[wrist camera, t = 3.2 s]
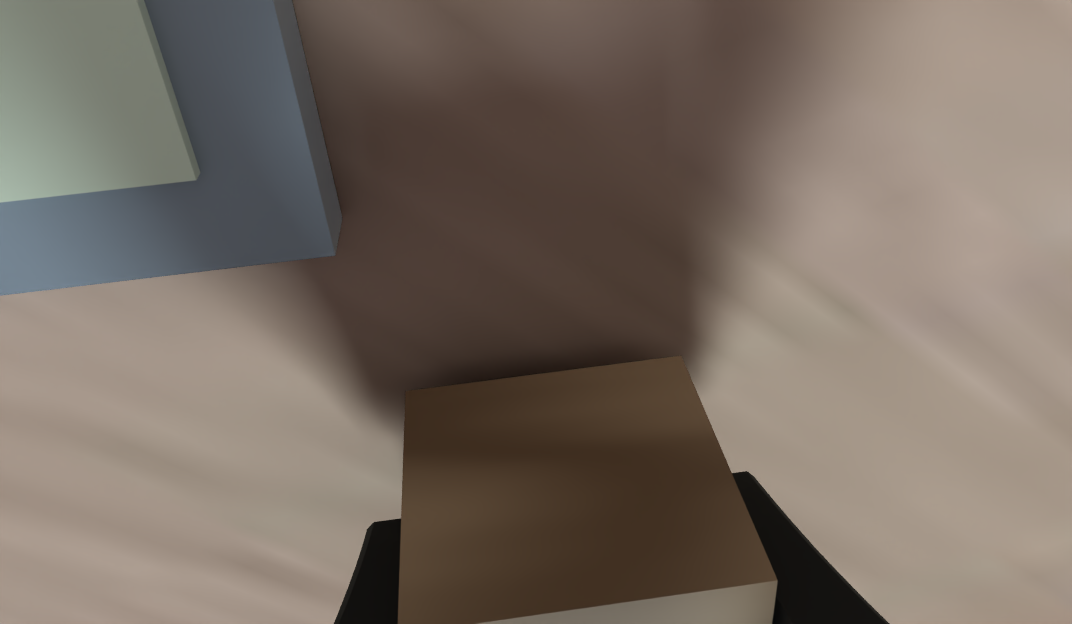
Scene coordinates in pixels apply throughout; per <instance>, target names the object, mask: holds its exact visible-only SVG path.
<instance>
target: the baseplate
mask: <svg viewBox="0 0 1072 624" xmlns="http://www.w3.org/2000/svg"><path fill="white" fill-rule="evenodd" d="M341 223H342V214H341V210H340V205H339V201H338V197H337V192H336V188H335V184H334V180H333V175H332V171H331V167H330V162H329V158H328V154H327V149H326V145H325V141H324V136H323V132H322V128H321V123H320V119H319V115H318V110H317V106H316V102H315V97H314V93H313V89H312V84H311V80H310V76H309V71H308V67H307V63H306V59H305V54H304V50H303V46H302V41H301V37H300V33H299V28H298V24H297V20H296V15H295V11H294V7H293V2H292V0H0V295H9V294H17V293H25V292H34V291H42V290H51V289H59V288H67V287H76V286H84V285H93V284H101V283H110V282H118V281H126V280H135V279H143V278H152V277H160V276H168V275H177V274H185V273H194V272H202V271H210V270H219V269H227V268H236V267H244V266H252V265H261V264H269V263H278V262H286V261H294V260H303V259H311V258H320V257H328V256H335V255H336V249H337V244H338V239H339V234H340V228H341Z"/></svg>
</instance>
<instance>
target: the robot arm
mask: <svg viewBox="0 0 1072 624" xmlns="http://www.w3.org/2000/svg"><path fill="white" fill-rule="evenodd" d="M732 475H733V478H734V480H735V482H736V485H737V487H738V489H739V491H740V494H741V496H742V498H743V501H744V503H745V505H746V508H747V510H748V512H749V515H750V517H751V519H752V522H753V524H754V526H755V529H756V531H757V533H758V536H759V538H760V540H761V543H762V545H763V547H764V550H765V552H766V554H767V557H768V559H769V561H770V564H771V566H772V568H773V571H774V573H775V575H776V578H777V580H778V582H777V590H776V598H775V605H774V613H773V620H772V624H889V623H888V622H887V621H886V620H885V619H884V618H883V617H882V616H881V615H880V614H879V613H878V612H877V611H876V610H875V609H874V608H873V607H872V606H871V605H870V604H869V603H868V602H867V601H866V600H865V599H864V598H863V597H862V596H861V595H860V594H859V593H858V592H857V591H856V590H855V589H854V588H853V587H852V586H851V585H850V584H849V583H848V582H847V581H846V580H845V579H844V578H843V577H842V576H841V575H840V574H839V573H838V572H837V571H836V570H835V568H834V567H833V566H832V565H831V564H830V563H829V562H828V561H827V560H826V559H825V558H824V557H823V556H822V555H821V554H820V553H819V551H818V550H817V549H816V548H815V547H814V546H813V545H812V544H811V543H810V542H809V540H808V539H807V538H806V537H805V536H804V535H803V534H802V533H801V531H800V530H799V529H798V528H797V527H796V526H795V525H794V524H793V522H792V521H791V520H790V519H789V518H788V517H787V516H786V514H785V513H784V512H783V511H782V510H781V509H780V507H779V506H778V505H777V504H776V503H775V501H774V500H773V499H772V498H771V497H770V495H769V494H768V493H767V492H766V491H765V489H764V488H763V487H762V486H761V485H760V483H759V482H758V481H757V480H756V478H755V477H754V476H753V475H751V474H750V473H749V472H747V471H746V472H738V473H732ZM400 541H401V519H394V520H387V521H379V522H374V523H373V524H372V525H371V526H370V527H369V528H368V529H367V532H366V535H365V539H364V543H363V546H362V549H361V552H360V555H359V558H358V561H357V564H356V567H355V570H354V573H353V576H352V579H351V581H350V584H349V587H348V589H347V592H346V594H345V597H344V600H343V602H342V605H341V607H340V610H339V612H338V615H337V617H336V620H335V622H334V624H398V601H399V571H400Z"/></svg>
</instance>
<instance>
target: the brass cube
mask: <svg viewBox="0 0 1072 624" xmlns="http://www.w3.org/2000/svg"><path fill="white" fill-rule="evenodd" d="M777 582H778V580H777V578H776V575H775V573H774V571H773V568H772V566H771V564H770V561H769V559H768V557H767V554H766V552H765V550H764V547H763V545H762V543H761V540H760V538H759V536H758V533H757V531H756V529H755V526H754V524H753V522H752V519H751V517H750V515H749V512H748V510H747V508H746V505H745V503H744V501H743V498H742V496H741V494H740V491H739V489H738V487H737V485H736V482H735V480H734V478H733V475H732V473H731V471H730V468H729V466H728V464H727V461H726V459H725V457H724V454H723V452H722V450H721V447H720V445H719V443H718V440H717V438H716V436H715V433H714V431H713V429H712V426H711V424H710V422H709V419H708V417H707V415H706V412H705V410H704V408H703V405H702V403H701V401H700V398H699V396H698V394H697V391H696V389H695V387H694V384H693V382H692V380H691V377H690V375H689V373H688V370H687V368H686V366H685V363H684V361H683V359H682V357H681V356H674V357H666V358H658V359H651V360H643V361H635V362H627V363H619V364H612V365H604V366H596V367H588V368H581V369H573V370H565V371H557V372H550V373H542V374H534V375H526V376H519V377H511V378H503V379H495V380H488V381H480V382H472V383H464V384H457V385H449V386H441V387H433V388H426V389H418V390H410V391H405V421H404V451H403V481H402V511H401V541H400V571H399V601H398V624H772V620H773V613H774V605H775V598H776V590H777Z"/></svg>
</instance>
